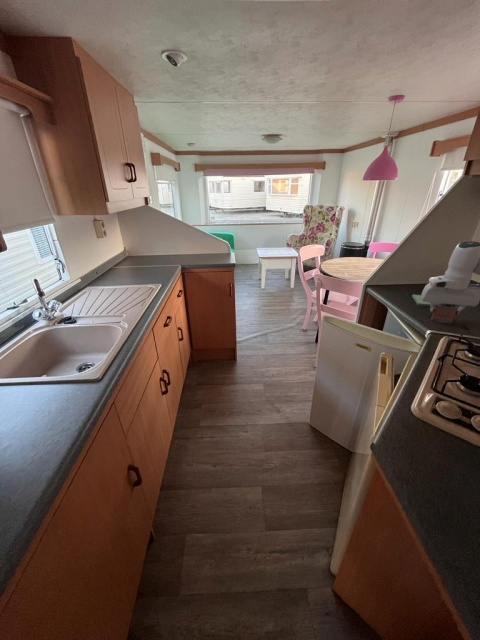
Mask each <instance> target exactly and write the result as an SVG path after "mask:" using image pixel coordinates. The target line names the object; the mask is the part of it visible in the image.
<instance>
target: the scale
mask: <svg viewBox="0 0 480 640" xmlns="http://www.w3.org/2000/svg"><path fill="white" fill-rule="evenodd" d="M411 298H412V299H413V301H414V302H415V304H416V305H417V306H422V307H431V306H430V303H429V302H424V301H423V300H422V299H421V294H411ZM436 304H437V303H435V305H436ZM438 304H442V303H438ZM435 305H433V307H435Z"/></svg>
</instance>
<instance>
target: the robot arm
mask: <svg viewBox="0 0 480 640" xmlns="http://www.w3.org/2000/svg"><path fill="white" fill-rule="evenodd" d="M447 265H448V267H447V269H446V270H445V272H444V275H439V276H433V277H429V279H428V283H427V284H426V285H425V286H424V288H423V290H422V292H421V294H420V295H421V299H422V300H423V301H424V302H429V303H430V306H429V307H430V308H429V311H430V312H431V313H433V312H435V310H436V308H435V307H433V305H435V303H443V304H452V305H453V304H454V305H455V306H458V309H457V311H456V313H455V315H460V313H461V312H462V311H463V310H465V309H466V307H477V306H479V304H480V283H477V284H476V283H471V280H472V277H473V274H475V275H478V276H480V242H479V241H474V240H473V241H472V240H471V241H468V240H467V241H462V242H459V243H457V244H456V247H455V248H454V249H453V251H452V253H451V256H450V258H449V260H448V264H447Z"/></svg>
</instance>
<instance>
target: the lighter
mask: <svg viewBox="0 0 480 640" xmlns="http://www.w3.org/2000/svg"><path fill="white" fill-rule="evenodd" d="M435 308H436V310H435V312H432V315H431V317H430V321H432V322H436V323H441V324H453V322H454V318H455V316H456V314H455V313H456V311H457V309H458V308H459V305H454V304H443V303H442V304H438V303H437V304H436V305H435Z"/></svg>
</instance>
